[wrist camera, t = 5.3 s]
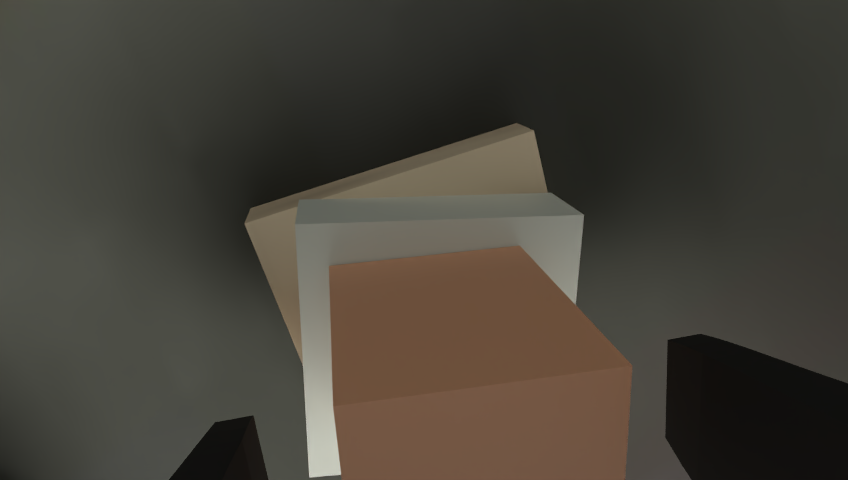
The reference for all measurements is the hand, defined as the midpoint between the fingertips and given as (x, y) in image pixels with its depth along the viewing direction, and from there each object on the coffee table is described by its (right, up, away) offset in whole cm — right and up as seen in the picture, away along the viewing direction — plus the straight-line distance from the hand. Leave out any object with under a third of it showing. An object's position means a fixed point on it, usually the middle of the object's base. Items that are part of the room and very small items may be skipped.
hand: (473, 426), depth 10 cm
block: (-1, +1, +3) cm, 3 cm away
